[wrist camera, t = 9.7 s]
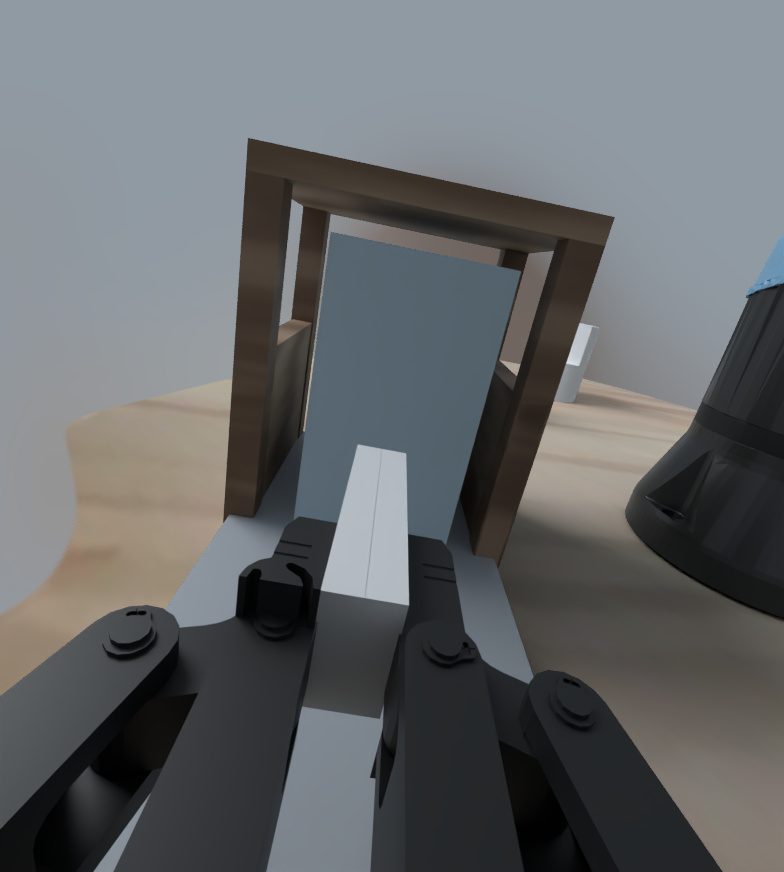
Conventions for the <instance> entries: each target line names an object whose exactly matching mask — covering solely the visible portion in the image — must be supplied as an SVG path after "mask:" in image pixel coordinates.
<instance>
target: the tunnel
mask: <svg viewBox="0 0 784 872" xmlns="http://www.w3.org/2000/svg"><path fill="white" fill-rule="evenodd" d="M291 199H293V200H295V201H296V202H297V203H299V204H301V205H302V206H303V215H302V226H301V234H300V243H299V253H298V262H297V271H296V281H295V290H294V299H293V309H292V318H291V320H290V321H288V322H286V323H285V324H282V325H281V326H279V322H280V311H281V301H282V290H283V281H284V269H285V259H286V250H287V240H288V230H289V219H290V209H291ZM243 210H244V211H243V225H242V240H241V256H240V272H239V287H238V302H237V318H236V333H235V349H234V364H233V380H232V395H231V411H230V426H229V442H228V457H227V473H226V488H225V504H224V519H223V523H224V522H225V520H226V519H227V517H228V516H229V514H231V515H237V516H243V517H249V518H254V516H255V514H256V513H257V511H258V509H259V507H260V506H261V504H262V498H263V497H264V495H265V493H266V492H267V490H268V488H269V486H270V485H271V483H272V481H273V479H274V478H275V476H276V474H277V473H278V471H279V469H280V467H281V466H282V464H283V462H284V461H285V459H286V457H287V455H288V454H289V452H290V450H291V448H292V447H293V445H294V443H295V442H296V440H297V438H299V437H300V436H301V434H302V432H303V427H304V419H305V411H306V403H307V395H308V387H309V380H310V372H311V364H312V355H313V348H314V340H315V332H316V324H317V316H318V309H319V300H320V293H321V285H322V277H323V269H324V262H325V254H326V246H327V238H328V230H329V222H330V215H331V214H334V215H339V216H343V217H348V218H353V219H358V220H363V221H368V222H372V223H377V224H382V225H387V226H391V227H396V228H401V229H406V230H411V231H415V232H420V233H425V234H429V235H434V236H439V237H444V238H449V239H453V240H458V241H463V242H468V243H473V244H478V245H482V246H487V247H492V248H497V249H501V251H500V255H499V259H498V263H497V266H498V267H503V268H508V269H513V270H518V271H521V274H520V278H519V281H518V285H517V288H516V292H515V296H514V299H513V303H512V307H511V310H510V314H509V317H508V321H507V325H506V328H505V332H504V336H503V339H502V343H501V347H500V350H499V354H498V357H497V361H496V365H495V368H494V372H493V376H492V379H491V383H490V386H489V390H488V394H487V397H486V401H485V405H484V408H483V412H482V416H481V419H480V423H479V426H478V430H477V434H476V437H475V441H474V445H473V448H472V452H471V455H470V459H469V463H468V466H467V470H466V474H465V477H464V481H463V485H462V488H461V492H460V495H459V497H460V501H461V504H462V508H463V512H464V516H465V519H466V523H467V527H468V530H469V534H470V538H469V541H470V545H471V548H472V552H473V555H474V556H480V557H486V558H492V559H495V562H496V565H497V568H498V567H499V564H500V561H501V558H502V555H503V552H504V549H505V546H506V543H507V540H508V537H509V534H510V531H511V528H512V525H513V522H514V519H515V516H516V513H517V510H518V507H519V504H520V501H521V498H522V495H523V492H524V489H525V486H526V483H527V480H528V477H529V474H530V471H531V468H532V465H533V462H534V459H535V456H536V453H537V450H538V447H539V444H540V441H541V438H542V435H543V432H544V429H545V426H546V423H547V420H548V417H549V414H550V411H551V408H552V405H553V402H554V399H555V396H556V393H557V390H558V387H559V384H560V381H561V378H562V375H563V372H564V369H565V365H566V362H567V359H568V356H569V353H570V350H571V347H572V344H573V341H574V338H575V335H576V332H577V329H578V326H579V323H580V320H581V317H582V314H583V311H584V308H585V305H586V302H587V299H588V296H589V293H590V290H591V287H592V284H593V281H594V278H595V275H596V272H597V269H598V266H599V263H600V260H601V257H602V254H603V251H604V248H605V245H606V242H607V239H608V236H609V233H610V230H611V226H612V224H613V221H614V218H615V217H611V216H607V215H602V214H597V213H593V212H588V211H583V210H578V209H574V208H570V207H565V206H560V205H555V204H551V203H546V202H542V201H537V200H533V199H527V198H523V197H519V196H514V195H509V194H505V193H500V192H495V191H491V190H486V189H482V188H477V187H472V186H468V185H463V184H459V183H454V182H449V181H444V180H440V179H435V178H431V177H426V176H421V175H417V174H412V173H407V172H403V171H398V170H394V169H389V168H384V167H380V166H375V165H370V164H366V163H361V162H356V161H352V160H347V159H343V158H338V157H333V156H329V155H324V154H319V153H315V152H310V151H305V150H301V149H296V148H292V147H287V146H283V145H278V144H273V143H269V142H264V141H259V140H255V139H250V138H248V147H247V163H246V178H245V194H244V209H243ZM548 251H554V254H553V257H552V260H551V263H550V267H549V270H548V274H547V277H546V280H545V284H544V287H543V291H542V294H541V297H540V301H539V304H538V307H537V311H536V314H535V318H534V321H533V324H532V328H531V331H530V335H529V338H528V341H527V345H526V348H525V351H524V355H523V358H522V362H521V365H520V368H519V372H518V375H517V376H516V375H515V374H513V373H512V372H511V371H510V370H509V369H508V368H507V367H506V366H505V365H504V364H503V363H502V362H500V361H499V358H500V354H501V351H502V347H503V344H504V340H505V337H506V333H507V329H508V326H509V322H510V318H511V315H512V311H513V308H514V304H515V300H516V297H517V293H518V289H519V286H520V282H521V279H522V275H523V271H524V268H525V264H526V261H527V257H528V254H529V253H537V252H548Z"/></svg>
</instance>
